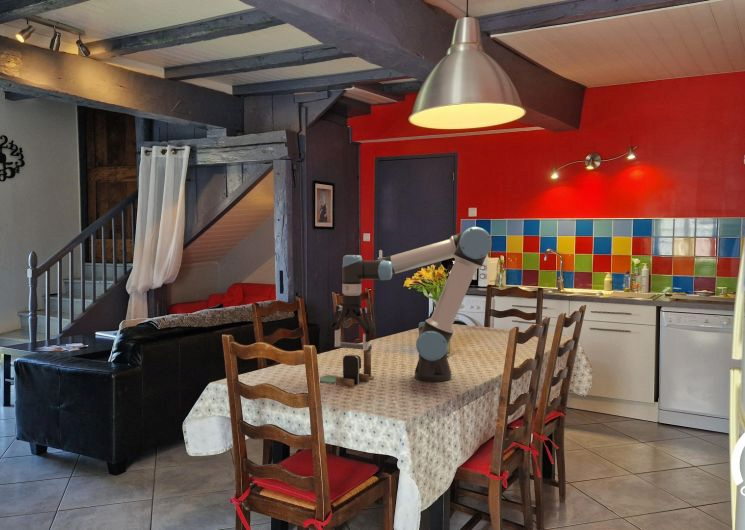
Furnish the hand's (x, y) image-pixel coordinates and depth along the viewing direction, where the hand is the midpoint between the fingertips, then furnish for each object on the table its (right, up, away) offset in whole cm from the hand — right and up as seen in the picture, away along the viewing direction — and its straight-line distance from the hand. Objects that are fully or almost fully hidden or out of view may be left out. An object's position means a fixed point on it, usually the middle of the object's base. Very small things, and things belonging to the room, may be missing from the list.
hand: (351, 348), depth 251 cm
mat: (-9, -14, +7) cm, 18 cm away
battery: (0, -14, +1) cm, 14 cm away
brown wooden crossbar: (0, -1, +12) cm, 12 cm away
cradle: (+2, -14, +4) cm, 15 cm away
